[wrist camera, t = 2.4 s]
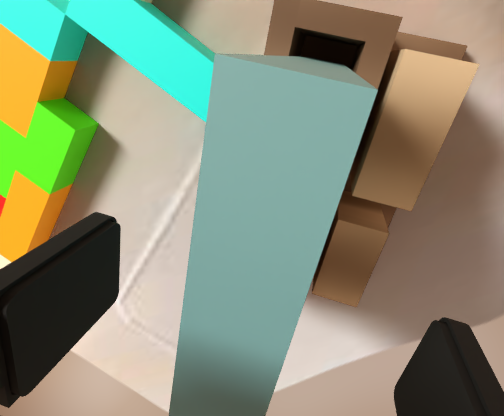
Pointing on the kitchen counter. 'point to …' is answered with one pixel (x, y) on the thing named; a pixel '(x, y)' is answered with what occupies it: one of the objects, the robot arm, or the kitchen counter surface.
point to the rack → (346, 42)
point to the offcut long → (408, 125)
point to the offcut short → (350, 250)
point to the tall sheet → (261, 221)
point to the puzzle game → (65, 113)
